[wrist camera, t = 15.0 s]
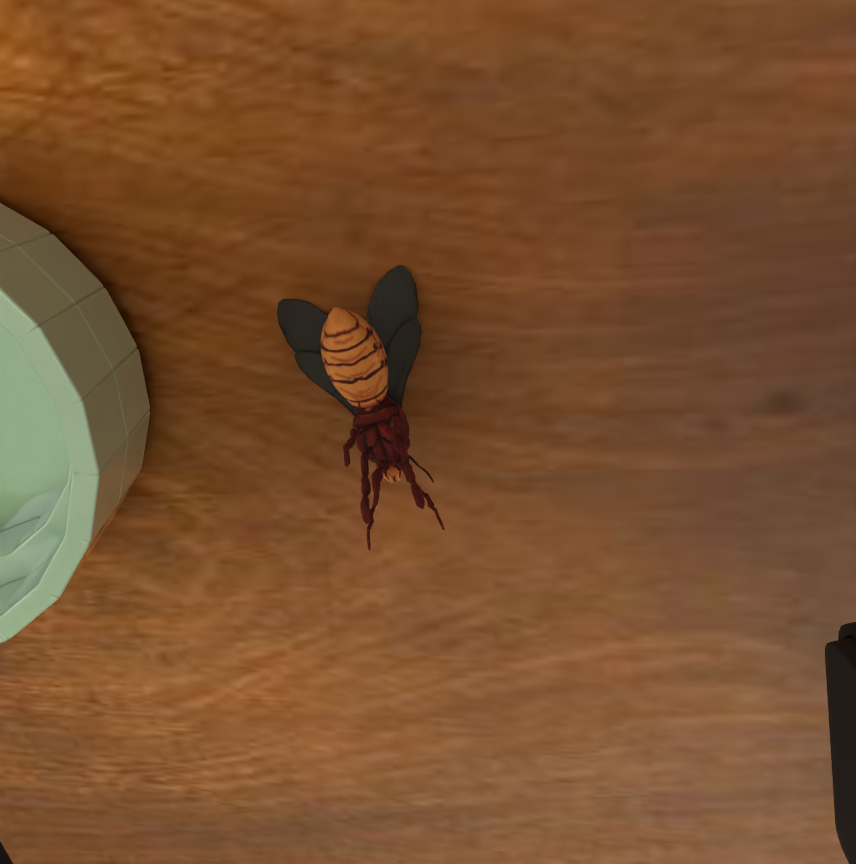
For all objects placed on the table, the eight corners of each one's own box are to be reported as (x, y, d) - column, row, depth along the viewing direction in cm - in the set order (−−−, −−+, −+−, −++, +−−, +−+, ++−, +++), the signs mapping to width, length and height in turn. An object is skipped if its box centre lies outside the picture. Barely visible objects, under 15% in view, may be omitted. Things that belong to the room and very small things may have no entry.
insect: (486, 545, 19) (466, 459, 24) (416, 306, 17) (409, 261, 22) (332, 587, 20) (341, 493, 24) (243, 356, 17) (271, 301, 22)
